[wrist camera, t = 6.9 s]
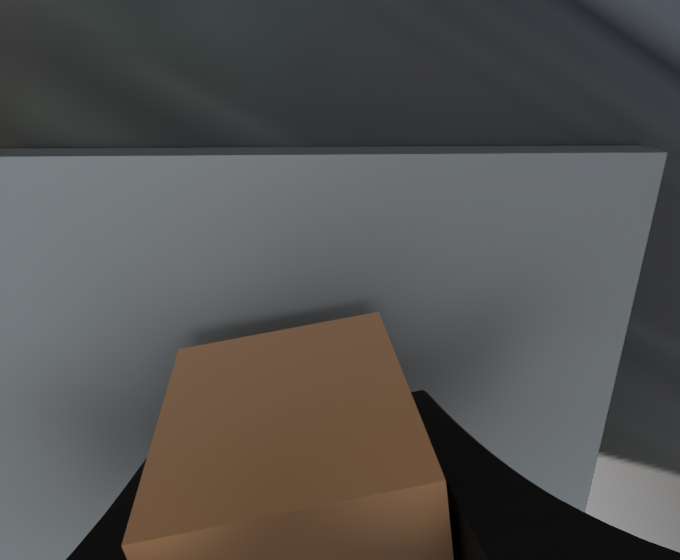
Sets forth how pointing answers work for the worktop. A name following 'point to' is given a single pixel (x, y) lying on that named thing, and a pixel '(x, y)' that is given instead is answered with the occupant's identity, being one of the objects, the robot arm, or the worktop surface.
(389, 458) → the tan wooden cube
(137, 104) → the worktop surface
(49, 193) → the board
